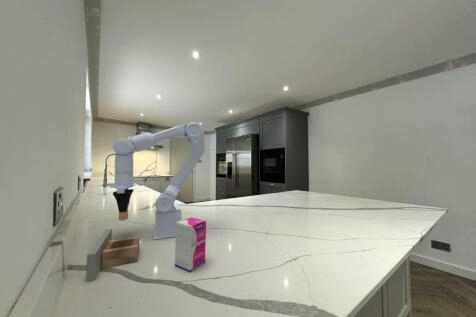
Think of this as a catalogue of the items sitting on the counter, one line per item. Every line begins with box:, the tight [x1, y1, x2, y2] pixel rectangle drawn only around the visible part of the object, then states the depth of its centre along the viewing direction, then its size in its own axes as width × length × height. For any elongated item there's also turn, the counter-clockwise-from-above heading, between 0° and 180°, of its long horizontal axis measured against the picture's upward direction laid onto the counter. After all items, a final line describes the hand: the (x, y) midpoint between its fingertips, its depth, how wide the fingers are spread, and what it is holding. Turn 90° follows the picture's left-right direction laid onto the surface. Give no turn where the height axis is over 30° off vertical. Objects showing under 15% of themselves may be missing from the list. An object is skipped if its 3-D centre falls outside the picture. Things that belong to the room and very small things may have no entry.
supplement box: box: [174, 217, 207, 273], centre depth 50 cm, size 6×6×12 cm
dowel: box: [118, 206, 129, 221], centre depth 67 cm, size 3×3×8 cm
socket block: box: [101, 236, 141, 269], centre depth 53 cm, size 8×8×4 cm
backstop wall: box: [85, 228, 113, 282], centre depth 51 cm, size 2×18×6 cm, turn 24°
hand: (123, 210), depth 67 cm, fingers closed on dowel, 3 cm apart
